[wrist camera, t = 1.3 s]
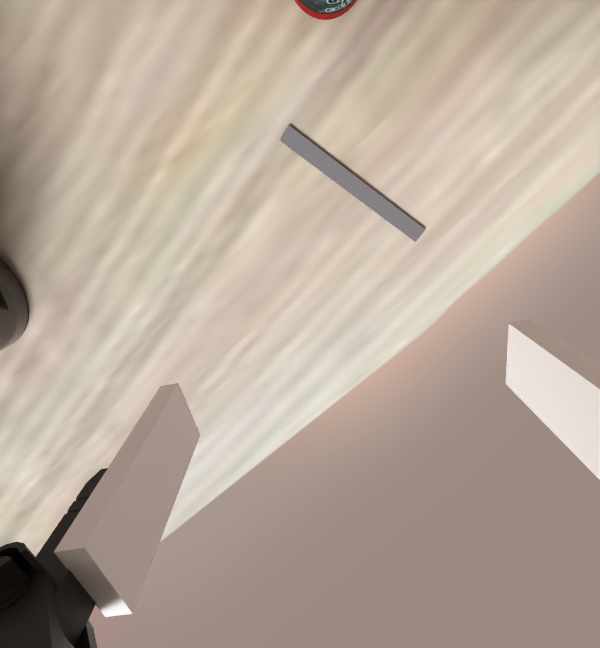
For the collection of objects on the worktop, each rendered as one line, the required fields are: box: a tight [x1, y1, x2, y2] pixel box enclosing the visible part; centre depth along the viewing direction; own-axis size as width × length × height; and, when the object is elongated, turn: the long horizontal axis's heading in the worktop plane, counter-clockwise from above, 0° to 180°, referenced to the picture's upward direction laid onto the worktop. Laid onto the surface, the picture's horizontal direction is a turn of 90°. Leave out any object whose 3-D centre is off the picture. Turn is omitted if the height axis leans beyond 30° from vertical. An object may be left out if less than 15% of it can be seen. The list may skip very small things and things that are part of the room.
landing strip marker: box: [280, 125, 425, 242], centre depth 36 cm, size 18×2×1 cm, turn 56°
